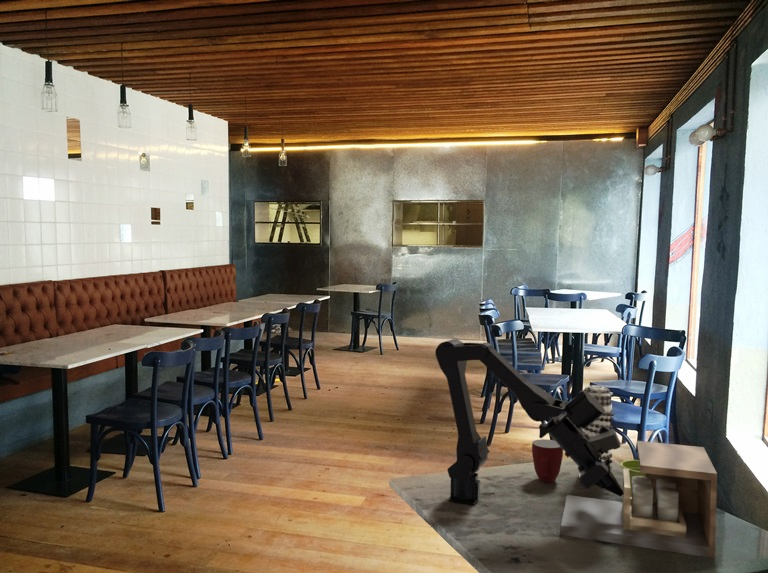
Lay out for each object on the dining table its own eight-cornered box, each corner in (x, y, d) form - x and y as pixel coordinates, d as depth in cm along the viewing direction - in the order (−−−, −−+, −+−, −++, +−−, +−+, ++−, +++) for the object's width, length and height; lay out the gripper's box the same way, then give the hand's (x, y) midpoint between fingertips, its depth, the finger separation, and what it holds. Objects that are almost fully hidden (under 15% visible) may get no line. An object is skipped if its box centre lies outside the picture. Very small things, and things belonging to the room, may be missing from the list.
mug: (562, 490, 159) (563, 451, 159) (530, 487, 162) (530, 449, 161) (562, 476, 170) (563, 440, 169) (532, 473, 172) (532, 438, 171)
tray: (623, 529, 132) (624, 487, 131) (622, 506, 144) (623, 468, 143) (686, 537, 127) (687, 494, 127) (679, 514, 140) (680, 474, 139)
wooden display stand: (560, 534, 133) (562, 456, 132) (566, 503, 151) (568, 434, 150) (714, 558, 123) (717, 473, 122) (701, 521, 141) (703, 447, 140)
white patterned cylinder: (572, 479, 168) (574, 387, 167) (583, 470, 175) (584, 382, 175) (607, 486, 163) (609, 391, 162) (616, 476, 170) (618, 386, 169)
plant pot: (641, 510, 147) (642, 474, 147) (611, 496, 155) (612, 462, 155) (670, 504, 151) (670, 469, 150) (639, 491, 159) (640, 457, 159)
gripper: (597, 427, 130) (653, 486, 127) (599, 408, 147) (648, 459, 144) (557, 460, 133) (611, 518, 130) (564, 437, 150) (611, 488, 147)
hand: (622, 494), depth 137 cm, fingers closed, pressing on tray
